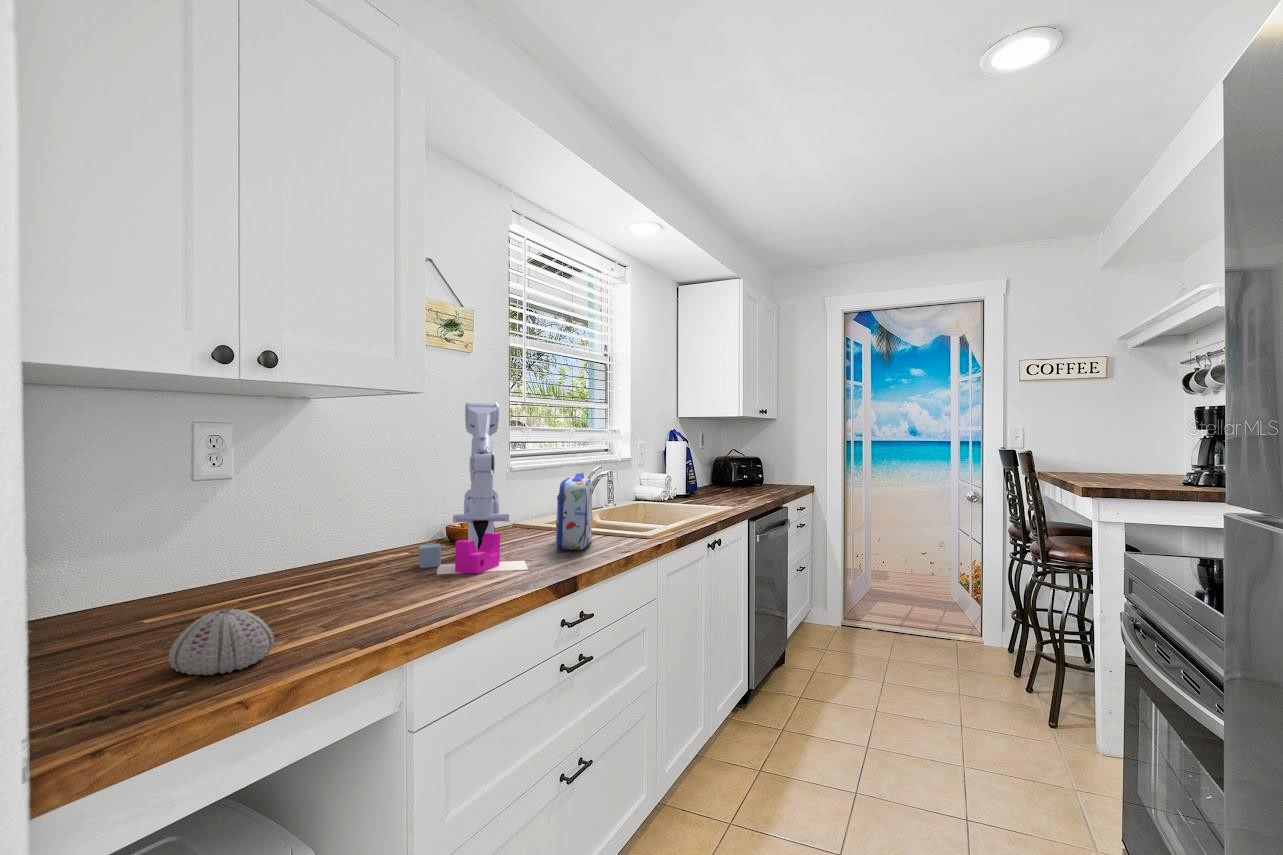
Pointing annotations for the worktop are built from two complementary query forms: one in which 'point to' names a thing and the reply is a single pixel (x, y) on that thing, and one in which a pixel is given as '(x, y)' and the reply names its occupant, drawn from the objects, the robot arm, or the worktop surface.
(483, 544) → the toy block
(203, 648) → the sea urchin shell
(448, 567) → the letter board
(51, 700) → the worktop surface
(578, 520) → the lunch box
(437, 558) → the blue cube
